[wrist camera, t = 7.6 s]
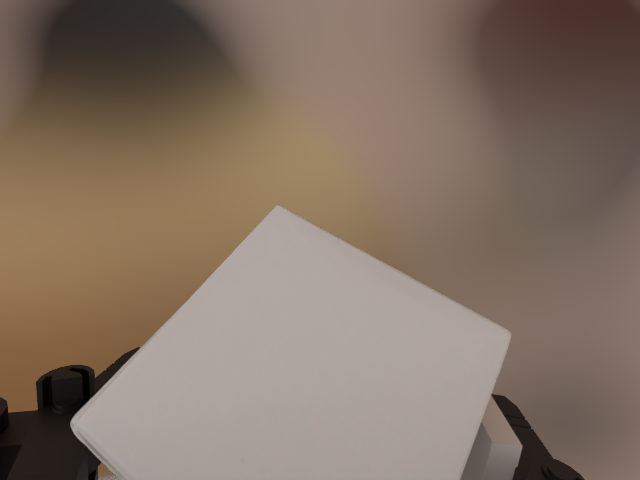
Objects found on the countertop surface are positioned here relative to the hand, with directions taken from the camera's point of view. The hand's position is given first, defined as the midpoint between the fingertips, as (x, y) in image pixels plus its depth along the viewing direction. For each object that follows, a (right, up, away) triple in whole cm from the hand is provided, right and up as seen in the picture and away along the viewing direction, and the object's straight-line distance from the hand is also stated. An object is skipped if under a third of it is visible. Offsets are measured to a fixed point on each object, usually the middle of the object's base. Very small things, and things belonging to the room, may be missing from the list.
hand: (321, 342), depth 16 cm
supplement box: (0, -5, +3) cm, 6 cm away
